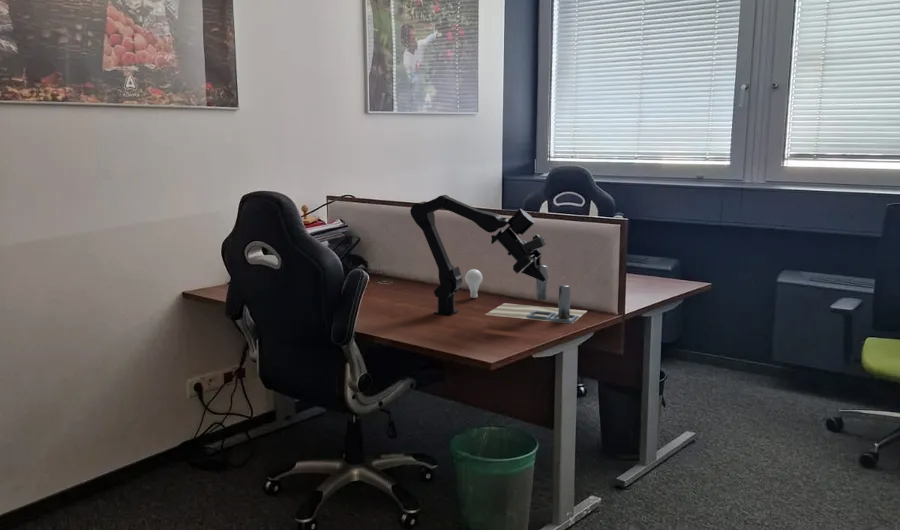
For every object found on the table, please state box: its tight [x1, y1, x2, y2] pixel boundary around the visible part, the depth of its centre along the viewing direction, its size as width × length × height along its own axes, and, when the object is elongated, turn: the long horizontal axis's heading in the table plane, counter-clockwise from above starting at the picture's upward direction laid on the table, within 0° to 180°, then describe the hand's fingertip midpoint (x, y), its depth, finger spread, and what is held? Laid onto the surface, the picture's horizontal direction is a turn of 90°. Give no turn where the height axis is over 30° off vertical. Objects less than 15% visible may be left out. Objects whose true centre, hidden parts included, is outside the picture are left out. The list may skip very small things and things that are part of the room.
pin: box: [535, 264, 548, 301], centre depth 244 cm, size 4×4×11 cm
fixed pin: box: [558, 284, 571, 320], centre depth 241 cm, size 4×4×11 cm
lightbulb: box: [464, 268, 483, 299], centre depth 278 cm, size 6×6×11 cm
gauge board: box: [484, 302, 588, 324], centre depth 251 cm, size 18×30×2 cm, turn 65°
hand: (545, 279), depth 244 cm, fingers closed on pin, 4 cm apart
